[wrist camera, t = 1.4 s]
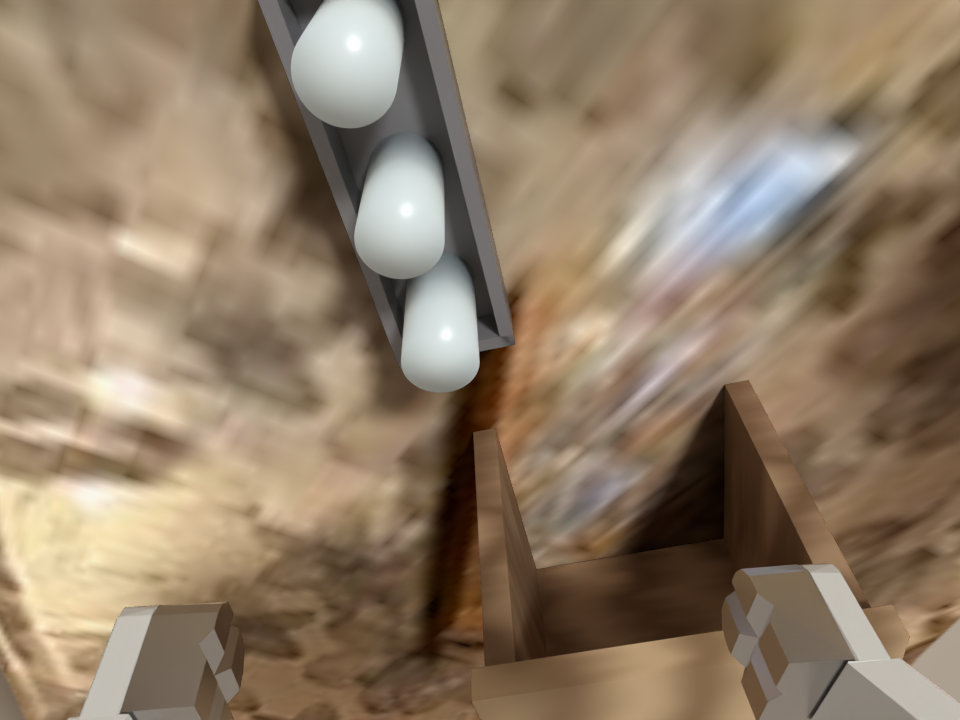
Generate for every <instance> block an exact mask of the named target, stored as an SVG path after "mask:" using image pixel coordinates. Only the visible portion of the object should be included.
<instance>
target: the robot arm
mask: <svg viewBox="0 0 960 720" xmlns="http://www.w3.org/2000/svg"><path fill="white" fill-rule="evenodd" d="M732 584H733V586H734V589H735V591H734V592H733V593H731V594H730V595H728V596H727V597H726V598H725V600H724V604H723V607H722V610H721V612H722V629H723V633H724V637H725V641H726V644H727V646H728V649H729V652H730V655H731V656H732V657H734V658H735V659H736V660H737V661H738V662H739V663H740V664H742V665H743V666H744V667H745V669H744V673H743V676H742V680H741V683H742V686H743V688H744V691H745V693H746V696H747V699H748V701H749V704H750V706H751V709H752V711H753V714H754V716H755V719H756V720H960V703H959V702H957V701H956V700H955V699H953V698H952V697H951V696H949V695H948V694H947V693H945V692H944V691H943V690H941V689H940V688H939V687H938V686H936V685H935V684H934V683H932V682H931V681H929V680H928V679H927V678H926V677H924V676H923V675H922V674H920V673H919V672H918V671H916V670H915V669H914V668H912V667H911V666H910V665H908V664H907V663H906V662H905V661H903V660H902V659H901V658H890V656H889V655H888V653H887V651H886V650H885V648H884V646H883V644H882V643H881V641H880V639H879V638H878V636H877V634H876V632H875V631H874V629H873V627H872V626H871V624H870V622H869V620H868V619H867V617H866V615H865V614H864V612H863V610H862V609H861V607H860V605H859V603H858V602H857V600H856V598H855V597H854V595H853V593H852V591H851V590H850V588H849V586H848V585H847V583H846V581H845V580H844V578H843V576H842V574H841V573H840V571H839V570H838V569H837V568H836V567H835V566H834V565H833V564H829V563H819V564H805V565H797V564H795V565H783V566H771V567H758V568H746V569H740V570H738V571H737V572H735V575H734V577H733V579H732ZM232 617H233V611H232V609H231V607H230V605H229V603H228V602H213V603H196V604H179V605H153V606H139V607H125V608H124V610H123V611H122V612H121V614H120V615H119V617H118V618H117V619H116V622H115V624H114V627H113V630H112V632H111V635H110V638H109V640H108V643H107V645H106V648H105V651H104V653H103V656H102V658H101V661H100V664H99V666H98V669H97V672H96V674H95V677H94V679H93V682H92V685H91V687H90V690H89V692H88V695H87V698H86V700H85V703H84V706H83V708H82V711H81V713H80V716H79V717H70V718H68V719H67V720H234V718H233V716H232V714H231V711H230V709H229V707H228V702H229V701H230V700H231V699H232V698H233V697H234V696H235V694H236V693H237V692H238V691H239V690H240V685H241V680H242V675H243V666H244V645H243V638H242V635H241V632H240V630H239V629H238V628H236V627H234V626H233V625H231V622H232Z"/></svg>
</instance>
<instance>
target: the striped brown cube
mask: <svg viewBox="0 0 960 720" xmlns="http://www.w3.org/2000/svg"><path fill="white" fill-rule="evenodd" d="M473 437H474V456H475V476H476V496H477V516H478V536H479V556H480V576H481V596H482V616H483V636H484V656H485V667H479V668H473V669H471V695H472V703H473V705H474V707H475V709H476V711H477V713H478V715H479V717H480V719H481V720H756V719H755V716H754V714H753V711H752V709H751V706H750V704H749V701H748V699H747V696H746V693H745V691H744V688H743V686H742V683H741V680H742V676H743V673H744V669H745V667H744V666H743V665H742V664H740V663H739V662H738V661H737V660H736V659H735V658H734V657H732V656H731V655H730V652H729V649H728V646H727V644H726V641H725V637H724V633H723V629H722V612H721V610H722V607H723V604H724V600H725V598H726V597H727V596H728V595H730V594H731V593H733V592H734V591H735V589H734V586H733V584H732V579H733V577H734V575H735V572H737V571H738V570H740V569H746V568H758V567H771V566H783V565H795V564H797V565H805V564H819V563H829V564H833V565H834V566H835V567H836V568H837V569H838V570H839V571H840V573H841V574H842V576H843V578H844V580H845V581H846V583H847V585H848V586H849V588H850V590H851V591H852V593H853V595H854V597H855V598H856V600H857V602H858V603H859V605H860V607H861V609H862V610H863V612H864V614H865V615H866V617H867V619H868V620H869V622H870V624H871V626H872V627H873V629H874V631H875V632H876V634H877V636H878V638H879V639H880V641H881V643H882V644H883V646H884V648H885V650H886V651H887V653H888V655H889V656H890V658H901V659H903V656H904V653H905V650H906V647H907V644H908V641H909V638H910V636H909V634H908V632H907V631H906V629H905V627H904V625H903V623H902V622H901V620H900V618H899V616H898V615H897V613H896V611H895V609H894V608H893V606H892V605H886V606H880V607H873V608H871V607H870V605H869V603H868V601H867V599H866V597H865V595H864V594H863V592H862V590H861V588H860V586H859V584H858V582H857V581H856V579H855V577H854V575H853V573H852V571H851V569H850V568H849V566H848V564H847V562H846V560H845V558H844V556H843V555H842V553H841V551H840V549H839V547H838V545H837V543H836V542H835V540H834V538H833V536H832V534H831V532H830V530H829V529H828V527H827V525H826V523H825V521H824V519H823V517H822V516H821V514H820V512H819V510H818V508H817V506H816V504H815V503H814V501H813V499H812V497H811V495H810V493H809V491H808V490H807V488H806V486H805V484H804V482H803V480H802V478H801V477H800V475H799V473H798V471H797V469H796V467H795V465H794V464H793V462H792V460H791V458H790V456H789V454H788V452H787V451H786V449H785V447H784V445H783V443H782V441H781V439H780V438H779V436H778V434H777V432H776V430H775V428H774V426H773V425H772V423H771V421H770V419H769V417H768V415H767V413H766V412H765V410H764V408H763V406H762V404H761V402H760V400H759V399H758V397H757V395H756V393H755V391H754V389H753V387H752V386H751V384H750V382H749V380H748V381H743V382H737V383H732V384H727V385H725V428H724V538H723V539H717V540H711V541H705V542H699V543H693V544H687V545H681V546H675V547H669V548H663V549H657V550H651V551H645V552H639V553H633V554H627V555H621V556H615V557H609V558H603V559H597V560H591V561H585V562H579V563H573V564H567V565H561V566H555V567H549V568H543V569H537V570H536V567H535V563H534V560H533V556H532V553H531V549H530V546H529V542H528V539H527V535H526V532H525V529H524V525H523V522H522V518H521V515H520V511H519V508H518V504H517V501H516V498H515V494H514V491H513V487H512V484H511V480H510V477H509V473H508V470H507V466H506V463H505V460H504V456H503V453H502V449H501V446H500V442H499V439H498V435H497V432H496V428H493V429H488V430H483V431H477V432H473Z"/></svg>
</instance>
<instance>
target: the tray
mask: <svg viewBox="0 0 960 720" xmlns="http://www.w3.org/2000/svg"><path fill="white" fill-rule="evenodd" d="M258 2H259V4H260V7H261V10H262V12H263V15H264V17H265V20H266V23H267V25H268V28H269V30H270V33H271V36H272V38H273V41H274V43H275V46H276V49H277V51H278V54H279V56H280V59H281V62H282V64H283V67H284V69H285V72H286V75H287V77H288V80H289V82H290V85H291V88H292V90H293V93H294V95H295V98H296V101H297V103H298V106H299V108H300V111H301V114H302V116H303V119H304V121H305V124H306V127H307V129H308V132H309V134H310V137H311V140H312V142H313V145H314V147H315V150H316V153H317V155H318V158H319V160H320V163H321V166H322V168H323V171H324V173H325V176H326V179H327V181H328V184H329V186H330V189H331V192H332V194H333V197H334V199H335V202H336V205H337V207H338V210H339V212H340V215H341V218H342V220H343V223H344V225H345V228H346V231H347V233H348V236H349V238H350V241H351V244H352V246H353V249H354V251H355V254H356V257H357V259H358V262H359V264H360V267H361V270H362V272H363V275H364V277H365V280H366V283H367V285H368V288H369V290H370V293H371V296H372V298H373V301H374V303H375V306H376V309H377V311H378V314H379V316H380V319H381V322H382V324H383V327H384V329H385V332H386V335H387V337H388V340H389V342H390V345H391V348H392V350H393V353H394V355H395V358H396V361H397V363H398V366H399V368H400V367H402V371H403V373H404V375H405V376H406V378H407V379H408V380H409V381H410V382H411V383H412V384H414V385H415V386H417V387H419V388H421V389H423V390H426V391H430V392H438V393H442V392H451V391H455V390H457V389H460V388H462V387H464V386H465V385H467V384H468V383H469V382H471V381H472V379H473V378H474V377H475V376H476V374H477V372H478V369H479V364H480V362H479V352H480V351H485V350H490V349H495V348H500V347H505V346H510V345H515V339H514V332H513V325H512V317H511V310H510V306H509V302H508V298H507V293H506V289H505V285H504V280H503V276H502V272H501V268H500V263H499V259H498V255H497V251H496V246H495V242H494V238H493V234H492V229H491V225H490V221H489V216H488V212H487V208H486V204H485V199H484V195H483V191H482V187H481V182H480V178H479V174H478V169H477V165H476V161H475V157H474V152H473V148H472V144H471V140H470V135H469V131H468V127H467V123H466V118H465V114H464V110H463V105H462V101H461V97H460V93H459V88H458V84H457V80H456V76H455V71H454V67H453V63H452V59H451V54H450V50H449V46H448V41H447V37H446V33H445V29H444V24H443V20H442V16H441V12H440V7H439V3H438V0H258Z"/></svg>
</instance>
